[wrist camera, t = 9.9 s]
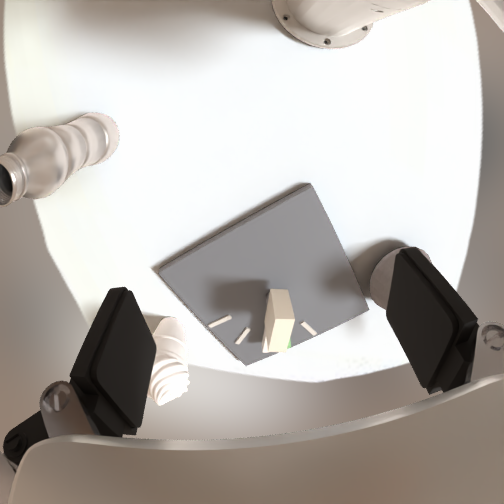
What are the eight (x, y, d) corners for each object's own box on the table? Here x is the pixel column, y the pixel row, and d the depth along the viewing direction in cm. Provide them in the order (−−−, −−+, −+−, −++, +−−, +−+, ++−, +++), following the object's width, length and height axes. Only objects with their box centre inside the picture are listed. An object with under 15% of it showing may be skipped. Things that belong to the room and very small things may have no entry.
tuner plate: (310, 183, 37) (313, 187, 35) (366, 304, 48) (369, 310, 46) (160, 267, 42) (157, 274, 41) (245, 359, 53) (245, 367, 51)
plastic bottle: (115, 166, 34) (26, 238, 17) (73, 150, 32) (-29, 208, 15) (131, 119, 32) (36, 155, 14) (87, 104, 30) (-24, 131, 12)
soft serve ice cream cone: (176, 348, 51) (164, 425, 37) (139, 324, 48) (116, 401, 34) (206, 326, 48) (200, 409, 34) (167, 298, 45) (146, 381, 31)
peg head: (268, 279, 42) (275, 318, 35) (285, 280, 42) (295, 319, 35) (257, 342, 48) (260, 381, 41) (271, 343, 48) (276, 382, 41)
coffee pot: (353, 263, 44) (392, 332, 31) (414, 225, 41) (470, 281, 28) (389, 336, 53) (418, 396, 40) (436, 307, 50) (473, 360, 37)
